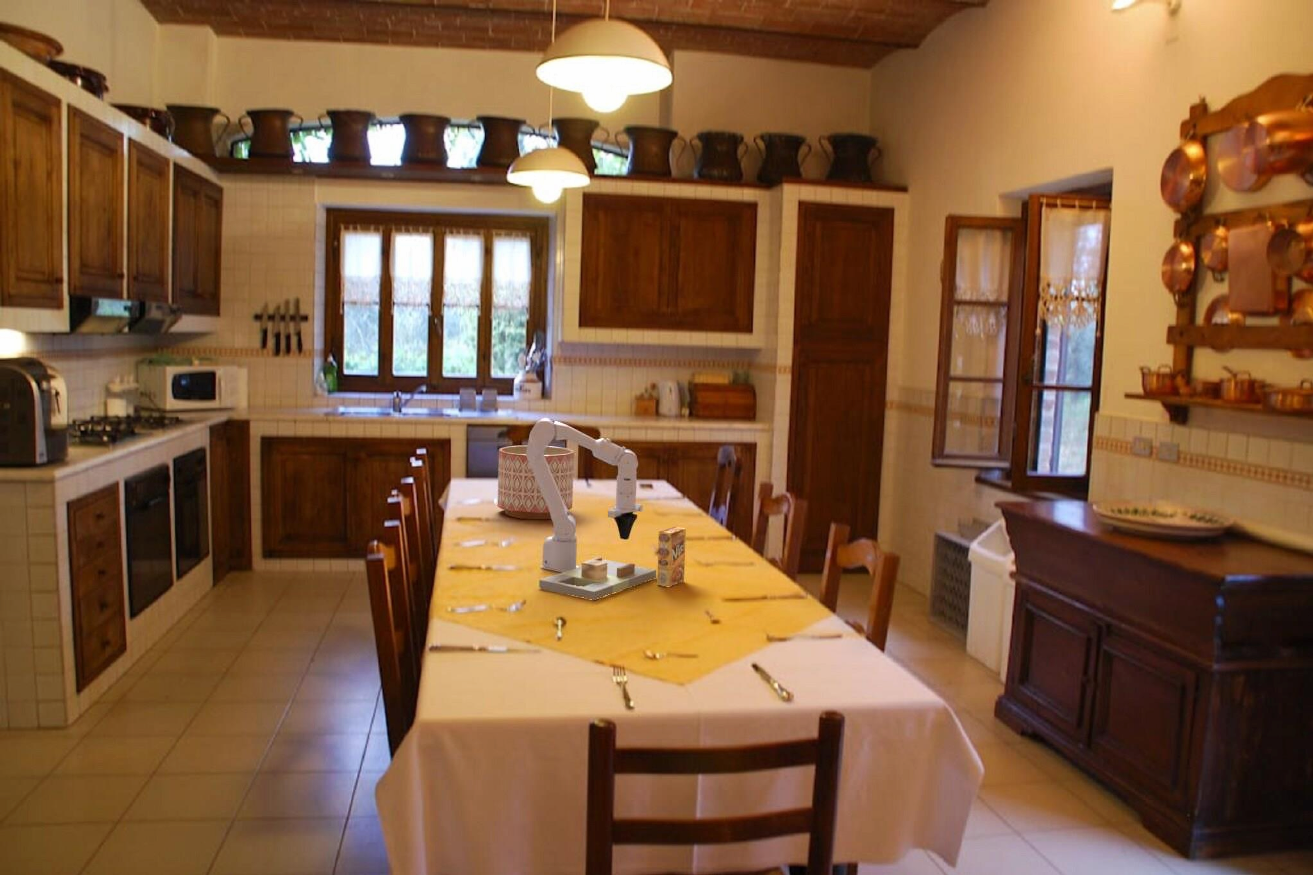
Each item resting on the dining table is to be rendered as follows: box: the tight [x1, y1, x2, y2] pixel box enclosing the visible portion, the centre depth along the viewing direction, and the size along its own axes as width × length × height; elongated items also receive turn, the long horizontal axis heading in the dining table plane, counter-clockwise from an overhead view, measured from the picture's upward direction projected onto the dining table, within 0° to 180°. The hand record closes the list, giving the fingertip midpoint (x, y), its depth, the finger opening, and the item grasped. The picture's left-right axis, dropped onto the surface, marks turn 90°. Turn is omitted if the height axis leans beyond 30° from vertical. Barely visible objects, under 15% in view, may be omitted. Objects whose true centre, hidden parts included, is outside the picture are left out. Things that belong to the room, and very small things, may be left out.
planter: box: [497, 444, 575, 520], centre depth 365 cm, size 27×27×24 cm
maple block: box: [581, 558, 608, 580], centre depth 269 cm, size 5×5×4 cm
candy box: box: [656, 526, 687, 587], centre depth 275 cm, size 9×4×15 cm, turn 150°
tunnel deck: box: [538, 556, 657, 600], centre depth 272 cm, size 18×30×5 cm, turn 148°
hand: (624, 538), depth 287 cm, fingers closed
